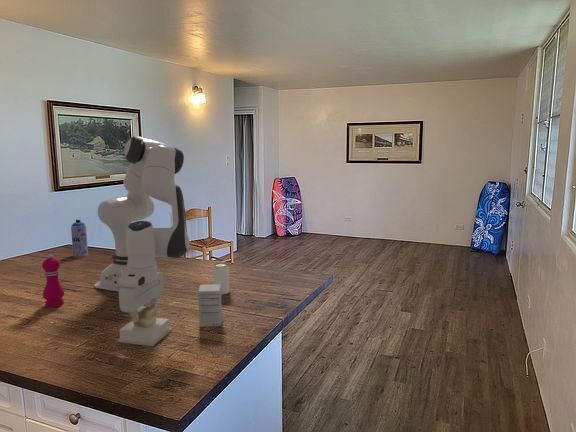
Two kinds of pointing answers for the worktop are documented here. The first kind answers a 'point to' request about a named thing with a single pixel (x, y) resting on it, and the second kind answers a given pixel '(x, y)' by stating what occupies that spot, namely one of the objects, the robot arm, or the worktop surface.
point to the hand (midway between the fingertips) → (144, 315)
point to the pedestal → (145, 333)
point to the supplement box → (210, 305)
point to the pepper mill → (52, 283)
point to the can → (221, 276)
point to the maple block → (146, 316)
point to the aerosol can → (79, 239)
